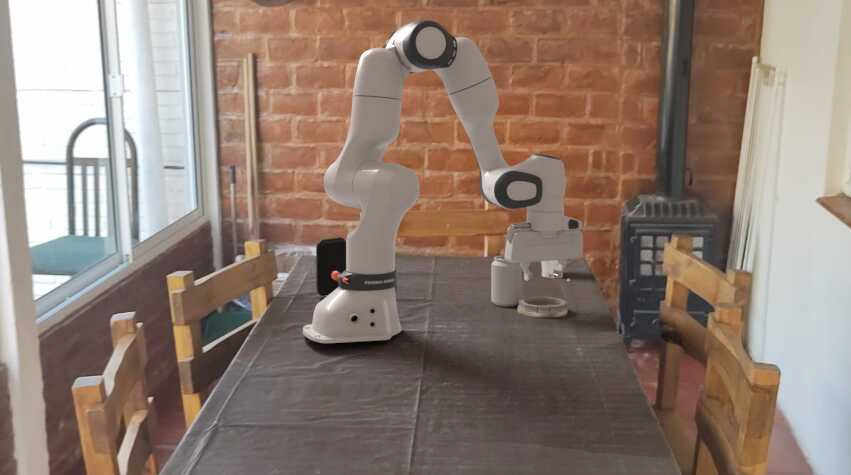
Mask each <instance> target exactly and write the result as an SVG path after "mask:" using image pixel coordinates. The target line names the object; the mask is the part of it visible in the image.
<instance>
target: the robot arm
mask: <svg viewBox="0 0 851 475" xmlns="http://www.w3.org/2000/svg"><path fill="white" fill-rule="evenodd" d="M429 70H431V71H433V72H435V74H436V75H438V77H439V79H440V80H441V81H442V83H443V87H444V89H445V91H446V94H447V97H448V99H449V102H450V104H451V106H452V108H453V110H454V112H455V113H456V116H457V117H458V119H459V121H460V123H461V124H462V127H463V128H464V130H465V132H466V134H467V137H468V140H469V142H470V145H471V148H472V151H473V154H474V157H475V159H476V162H477V165H478V169H479V170H478V171H479V172H478V173H479V178H478V179H479V184H478V187H479V191H480V194H481V196H482V198H483V200H485V202H487V203H489V204H490V205H492V206H496V207H500V208H503V209H505V210H518V209H522V208H523V209H524V208H526V222H525V223H523V222H522V223H512V225H511V226H509V227H508V228H507V230H506V243H505V248H504V249H505V251H504V256H505V259H506V260H507V261H508V262H510V263H520V266H521V268H522V272H523V279H524V281H527V282H529V281H533V280H534V273H533V272H531V271H530V269H529V268H530V265H531V263H537V262H538V263H539V262H541V261H552V260H558V263H559V265H558V267H557V270H554V277H555V278H554V279H561V278H563V276H564V275H563V274H564V270H565V268H566V267H567V266H568V260H575V259H580V258H581V257H582V256H583V253H584V236H583V232H582V230H581V229H582V227H583V222H582V221H581V220H580V219H578V218H577V219H576V218H574V217H570V216H569V215H566V214H565V206H564V196H565V192H566V174H565V172H566V170H565V165H564V162H563V161H562V160H561V159H560V158H559V157H557V156H553V155H548V154H543V153H533V154H531V156H529V157H528V158H526V159H525V160H523V161H521V162H520V163H516V165H512V166H511V165H509V164H508V163H507V161H506V160H505V158H504V156H503V153H502V151H501V150H502V149H501V148H500V145H499V141H498V138H497V136H496V134H495V128H494V121H495V116H496V114H497V112H498V110H499V106H500V99H499V95H498V90H497V86H496V83H495V81H494V78H493V75H492V73H491V71H490V68H489V66H488V63H487V61H486V60H485V57H484V56H483V54H482V53H481V51H480V49H479V47H478V46H477V44H476V43H475V42H474V41H473V40H472V39H471V38H469V37H464V36H461V37H459V36H458V37H455V36H454V35H452V34H451V33H450V32H449V31H448V30H447V29H446V28H445V27H444V26H443V25H441V24H440V23H439V22H437V21H434V20H430V19H420V20H417V21H411V22H408V23H406V24H404V25H402V26H401V27H399V28H397V29H396V30H394V32H393V33H391V35H389V37H388V39H387V40H386V42H385V44H384V45H383V47H375V48H370V49H368V50H366V51H364V52H363V53H362V54H361V55H360V57H359V61H358V65H357V69H356V73H355V76H354V77H355V78H354V83H353V92H352V102H351V105H352V106H351V113H350V120H349V122H350V123H349V130H348V134H347V137H346V140H345V143H344V146H343V148H342V150H341V152H340V154H339V155H338V157H337V158H336V160H334V162H333V163H331V165H329V167H328V168H327V170H326V172H325V173H324V176H323V188H324V191H325V193H326V196H327V197H328V198H329V199H330V200H332V201H333V202H335V203H337V204H339V205H342V206H345V207H348V208H353V209H361V211H360V212H361V213H360V218H359V221H358V224H357V226H356V227H355V228H353V229H352V230H350V232H348V234H347V235H346V236H347V237H346V239H345V241H346V270H345V271H344V272H342V273H340V272H338V271H333V273H332V275H331V276H333V277H332V279H334V280H336V281H338V286H339V287H338V288H336V289H335V290H334V291H333V292H332V293H330V294H329V295H327V296H325V297H324V298H323V299H322V300H321V301H319V302H317V304H316V305H315V308H314V310H313V314H312V315H313V316H312V323H311V324H305V325H304V326H303V327H302V334H303V336H305V337H306V338H307V339H309V340H311V341H313V342H315V343H320V344H336V343H339V344H340V343H355V342H356V343H357V342H373V341H376V342H377V341H387V340H390V339H391V338H392V337H393V336H396V335H398V334H400V333H401V332H402V330H403V329H402V326H401V323H400V318H399V313H398V307H397V299H396V298H397V296H396V293H397V286H398V275H397V273H398V272H397V269H396V267H395V266H396V265H395V263H396V240H397V234H398V229H399V227H400V224H401V222H402V220H403V217H404V216H405V214H407V212H408V211H409V210H410V209H411V208H413V206H414V205H416V202H417V201H418V199H419V195H420V190H421V189H420V188H421V187H420V181H419V180H420V179H419V177H418V175H417V174H416V172H415V171H414V170H413V169H411V168H409V167H406V166H404V165H401V164H399V163H396V162H389V161H382V159H383V158H384V157H383V156H384V154H385V151H386V149H387V148H388V146H389V145H390V144H392V143H394V141H396V140H397V139H398V137H399V135H400V129H401V118H402V109H403V108H402V106H403V91H404V90H403V88H404V85H405V81H406V78H407V76H408V75H410V74H414V73H423V72H427V71H429Z"/></svg>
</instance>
